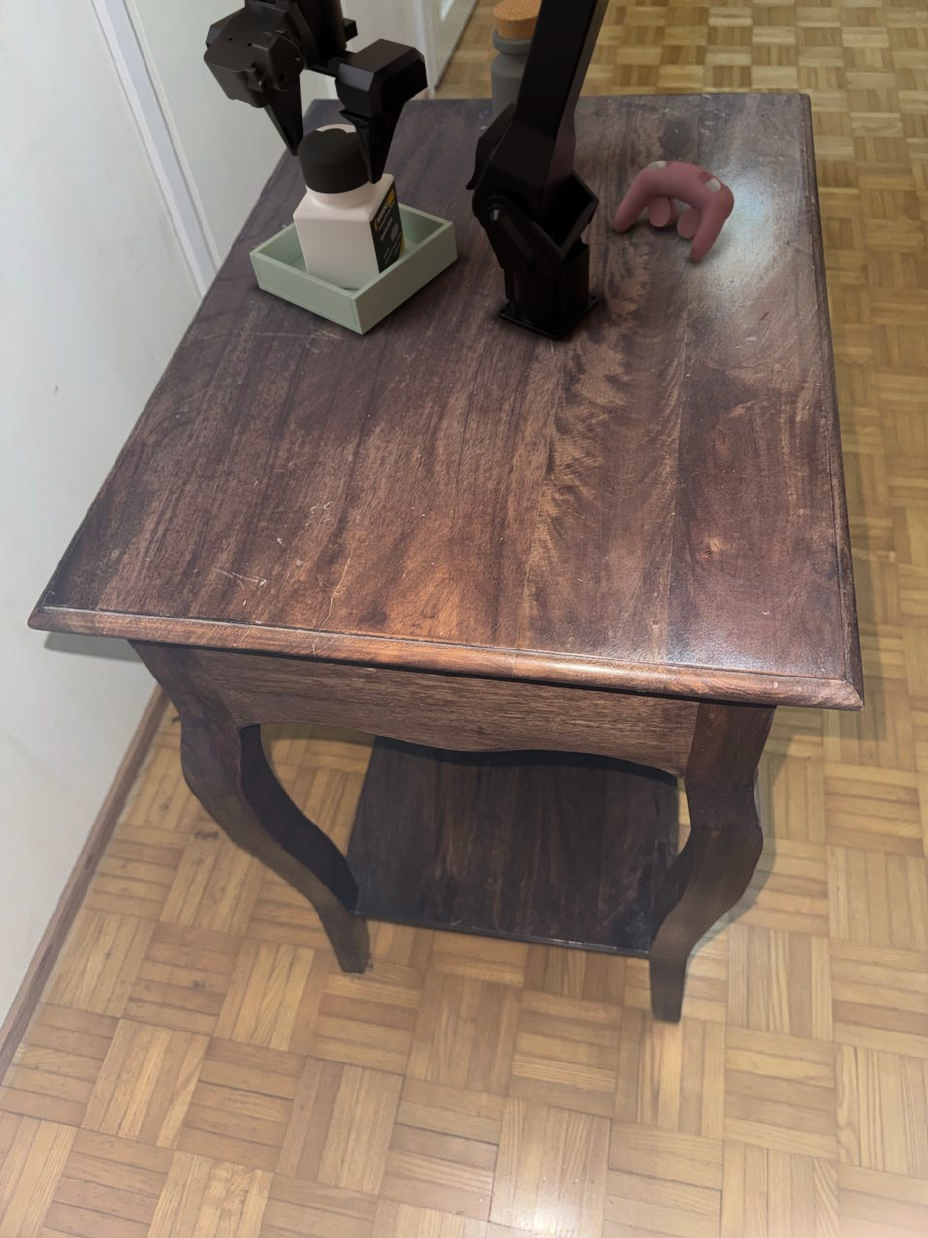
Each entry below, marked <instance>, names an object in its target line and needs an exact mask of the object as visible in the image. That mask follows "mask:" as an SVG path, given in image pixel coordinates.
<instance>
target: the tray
mask: <svg viewBox="0 0 928 1238" xmlns="http://www.w3.org/2000/svg"><path fill="white" fill-rule="evenodd" d="M398 205H399V212H400V218H401V224H402V230H403V236H404V242H405V248H404V250H403V252H402V254H401V256H400V258H399V260H398V261H396V262H395V263H394V264H392V265H391V266H390V267H388V268H387V269H386V270H385V271H383V272H382V273H381V274H379V275H378V276H377V277H375V278H374V279H373V280H372V281H370V282H369V283H368V284H366V285H365V286H364V287H362V288H361V289H346V288H340V287H338V286H335V285H333V284H331V283H329V282H326V281H324V280H322V279H319V278H317V277H315V276H312V275H310V274H308V271H307V267H306V263H305V259H304V255H303V252H302V248H301V244H300V240H299V236H298V233H297V229H296V225H295V221H293V222H291V223H290V224H288V225H287V226H286V227H285V228H283V229H282V230H280V231H279V232H277V233H276V234H274V235H273V236H271V237H270V238H268V239H267V240H265V241H264V242H263V243H262V244H260V245H258V247H256V248H254V249H253V250H251V251H250V252H249V253H248V254H249V257H250V261H251V264H252V268H253V271H254V273H255V274H254V275H255V277H256V280H257V282H258V283H257V284H258V287H259V289H261V290H264V291H266V292H268V293H270V294H272V295H274V296H277V297H278V298H281V299H283V300H285V301H287V302H290V303H292V304H294V305H296V306H298V307H301V308H303V309H305V310H307V311H310V312H312V313H313V314H316V315H318V316H321V317H322V318H324V319H327V320H329V321H331V322H333V323H336V324H338V325H339V326H342V327H345V328H346V329H349V330H351V331H353V332H355V333H357V334H360V335H361V336H362V335H364V334H366V333H367V332H368V331H369V330H371V329H372V328H373V327H374V326H376V325H377V324H378V323H379V322H381V321H382V320H383V319H384V318H386V317H387V316H388V315H389V314H391V313H392V312H393V311H394V310H396V309H397V308H398V307H399V306H400V305H402V304H403V303H404V302H405V301H407V300H408V299H409V298H411V297H412V296H413V295H414V294H416V293H417V292H418V291H419V290H420V289H422V288H423V287H424V286H425V285H427V284H428V283H429V282H430V281H432V280H433V279H434V278H435V277H437V276H438V275H439V274H441V273H442V272H443V271H444V270H445V269H447V268H448V267H449V266H450V265H452V264H453V263H454V262H455V261H457V260H458V253H457V251H458V250H457V241H456V233H455V223H454V222H453V221H450V220H447V219H444V218H441V217H439V216H437V215H433V214H431V213H429V212H425V211H422V210H420V209H416V208H415V207H412V206H408V205H406V204H403V203H400V202H398Z"/></svg>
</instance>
